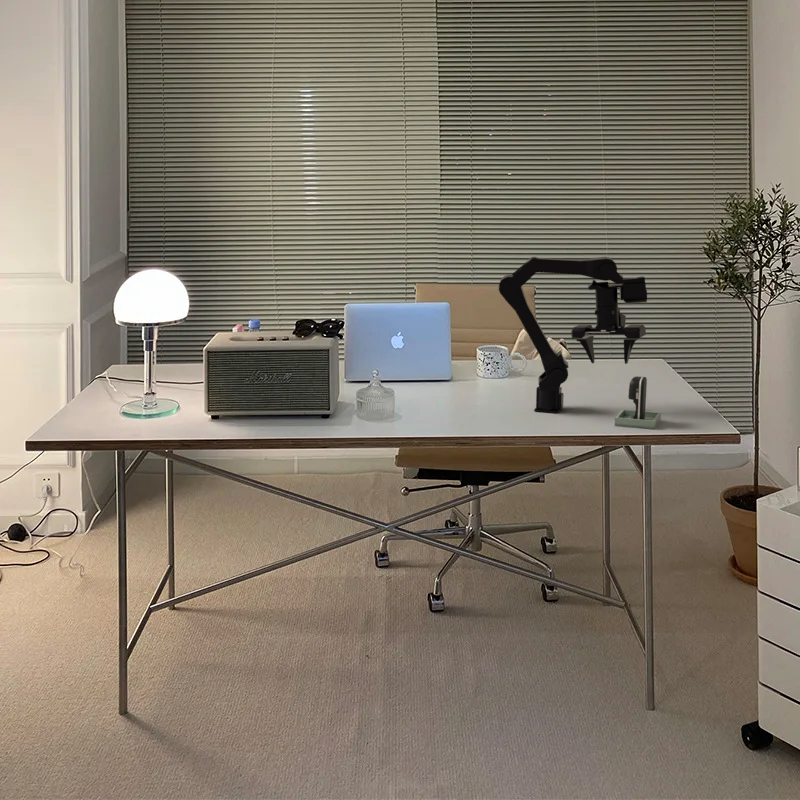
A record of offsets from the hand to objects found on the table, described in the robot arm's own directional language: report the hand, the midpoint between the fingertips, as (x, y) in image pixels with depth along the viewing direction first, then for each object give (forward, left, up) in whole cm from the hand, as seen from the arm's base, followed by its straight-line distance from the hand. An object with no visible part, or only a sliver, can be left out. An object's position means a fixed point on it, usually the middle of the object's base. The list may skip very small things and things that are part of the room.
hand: (609, 363), depth 279 cm
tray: (+10, -10, -13) cm, 19 cm away
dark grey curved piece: (+9, -11, -13) cm, 19 cm away
